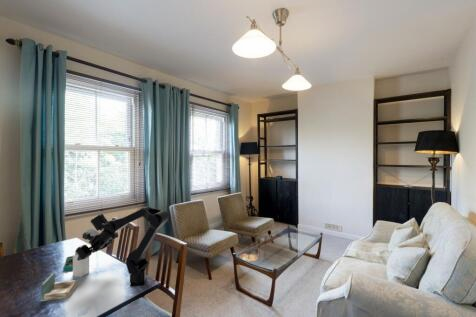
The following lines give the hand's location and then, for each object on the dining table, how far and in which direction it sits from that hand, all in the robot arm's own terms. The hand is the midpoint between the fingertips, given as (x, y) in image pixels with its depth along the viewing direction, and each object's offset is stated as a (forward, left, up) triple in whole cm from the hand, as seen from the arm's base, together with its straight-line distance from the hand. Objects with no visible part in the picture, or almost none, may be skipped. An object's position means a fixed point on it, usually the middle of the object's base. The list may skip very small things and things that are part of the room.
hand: (85, 255), depth 122 cm
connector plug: (+2, -1, -10) cm, 10 cm away
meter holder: (+4, +15, -10) cm, 19 cm away
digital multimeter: (+12, -13, -11) cm, 20 cm away
